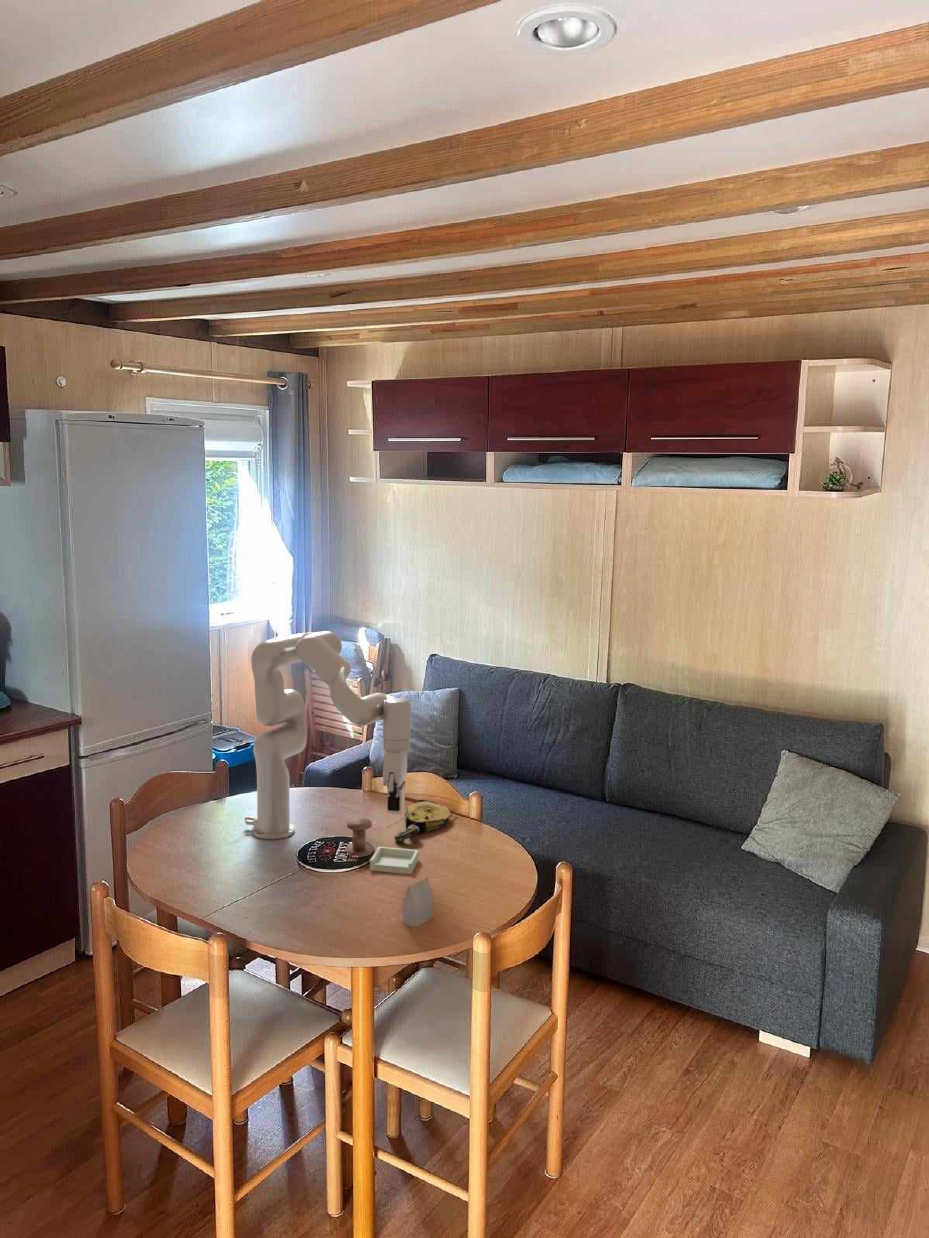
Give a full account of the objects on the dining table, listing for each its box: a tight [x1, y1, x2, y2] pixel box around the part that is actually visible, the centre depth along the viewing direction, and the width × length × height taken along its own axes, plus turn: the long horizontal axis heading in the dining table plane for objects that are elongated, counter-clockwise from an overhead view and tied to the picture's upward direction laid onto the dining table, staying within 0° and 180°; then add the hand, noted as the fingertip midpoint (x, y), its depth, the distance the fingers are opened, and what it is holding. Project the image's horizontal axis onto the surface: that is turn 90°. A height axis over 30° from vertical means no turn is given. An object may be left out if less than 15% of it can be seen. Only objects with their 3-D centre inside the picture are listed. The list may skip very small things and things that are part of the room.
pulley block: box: [394, 799, 457, 843], centre depth 291 cm, size 14×6×30 cm
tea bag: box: [402, 877, 434, 928], centre depth 231 cm, size 4×7×10 cm, turn 140°
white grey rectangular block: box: [386, 780, 406, 815], centre depth 260 cm, size 4×4×8 cm
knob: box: [344, 817, 374, 856], centre depth 271 cm, size 8×8×9 cm
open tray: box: [369, 846, 420, 875], centre depth 263 cm, size 12×10×3 cm
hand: (395, 806), depth 261 cm, fingers closed on white grey rectangular block, 4 cm apart
